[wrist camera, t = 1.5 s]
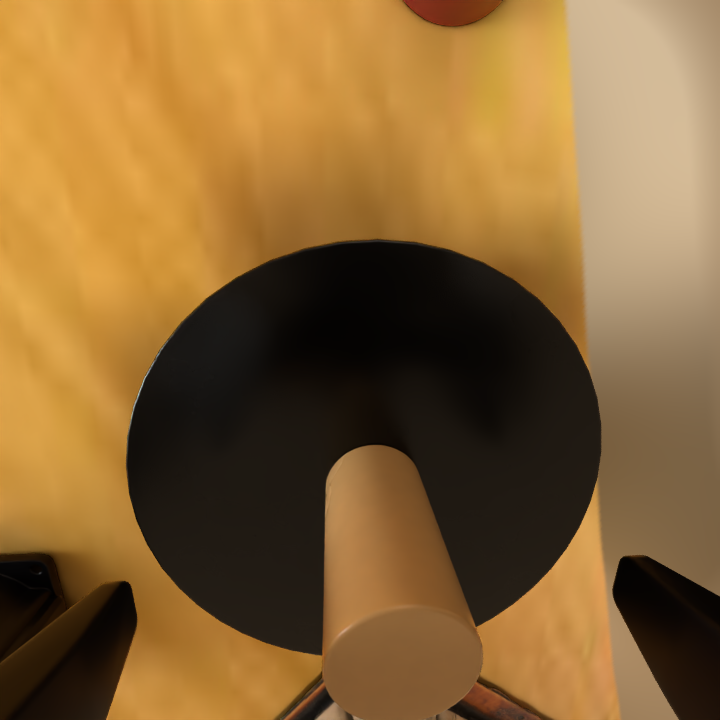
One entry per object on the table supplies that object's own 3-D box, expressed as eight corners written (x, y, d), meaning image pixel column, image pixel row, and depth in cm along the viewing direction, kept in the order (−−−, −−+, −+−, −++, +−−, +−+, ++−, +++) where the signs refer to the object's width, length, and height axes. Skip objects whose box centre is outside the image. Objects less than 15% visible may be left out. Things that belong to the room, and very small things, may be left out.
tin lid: (176, 634, 12) (61, 931, 7) (107, 235, 9) (-225, 237, 4) (543, 612, 13) (685, 864, 8) (615, 241, 10) (958, 248, 4)
